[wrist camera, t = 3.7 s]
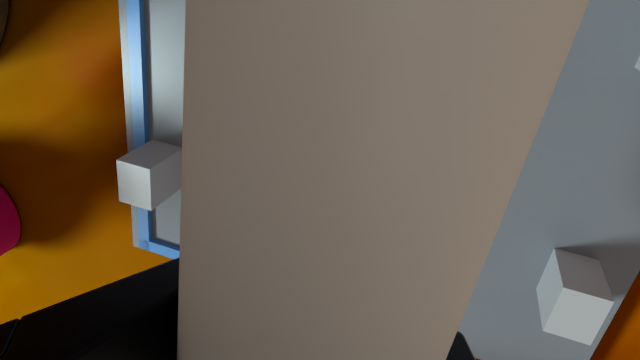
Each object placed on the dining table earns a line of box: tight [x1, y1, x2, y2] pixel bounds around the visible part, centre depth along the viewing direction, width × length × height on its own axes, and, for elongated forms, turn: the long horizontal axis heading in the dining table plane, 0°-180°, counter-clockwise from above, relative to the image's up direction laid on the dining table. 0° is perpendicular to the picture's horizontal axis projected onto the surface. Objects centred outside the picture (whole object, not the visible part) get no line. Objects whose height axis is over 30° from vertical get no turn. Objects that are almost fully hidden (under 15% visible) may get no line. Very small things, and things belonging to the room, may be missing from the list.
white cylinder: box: [177, 0, 590, 360], centre depth 8 cm, size 12×4×4 cm, turn 171°
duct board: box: [116, 0, 640, 360], centre depth 18 cm, size 20×22×4 cm
